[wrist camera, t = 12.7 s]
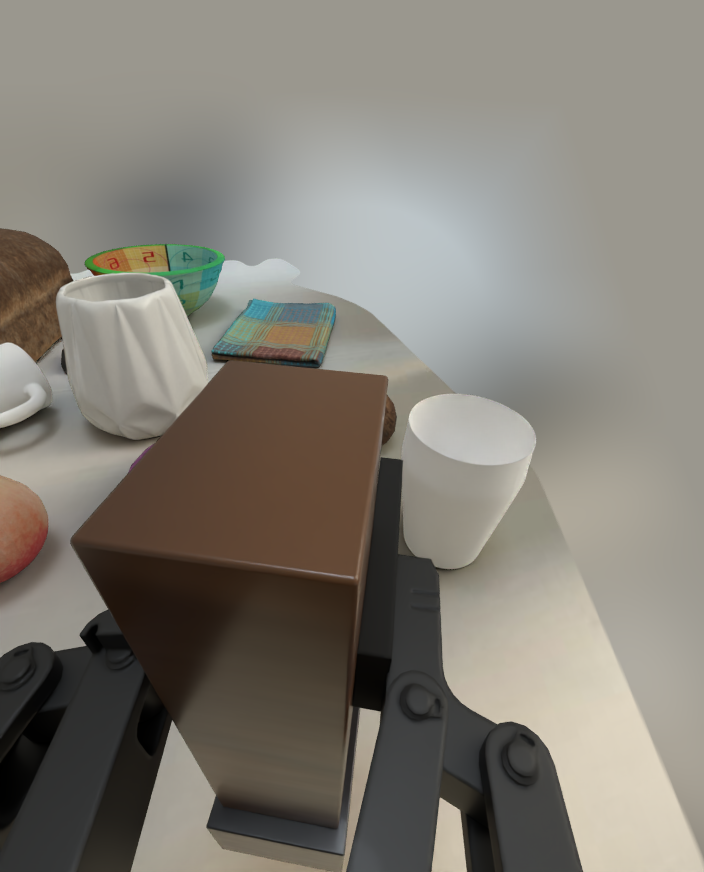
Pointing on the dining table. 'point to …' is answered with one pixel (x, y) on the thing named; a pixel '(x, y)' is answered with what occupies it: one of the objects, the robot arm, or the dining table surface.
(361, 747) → the dining table surface
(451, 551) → the cup
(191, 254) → the bowl
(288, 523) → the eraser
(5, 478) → the fruit
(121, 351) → the vase
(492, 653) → the dining table surface
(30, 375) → the mug
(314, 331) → the dish towel
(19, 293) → the bread
